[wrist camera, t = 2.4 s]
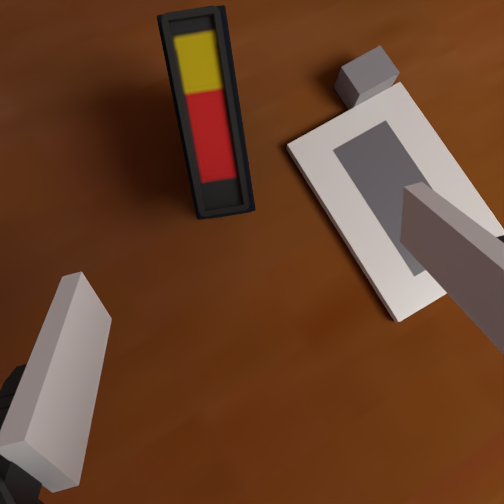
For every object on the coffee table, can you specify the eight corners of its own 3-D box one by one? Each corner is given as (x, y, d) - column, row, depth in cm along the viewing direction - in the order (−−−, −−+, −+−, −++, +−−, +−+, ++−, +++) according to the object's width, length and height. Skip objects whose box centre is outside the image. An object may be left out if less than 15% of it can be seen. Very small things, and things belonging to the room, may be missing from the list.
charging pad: (269, 122, 34) (271, 105, 31) (378, 63, 34) (390, 40, 31) (394, 321, 31) (409, 323, 28) (509, 252, 31) (536, 246, 28)
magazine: (227, 60, 33) (224, -4, 18) (249, 203, 37) (261, 241, 22) (186, 67, 33) (151, 7, 18) (212, 209, 37) (200, 251, 22)
